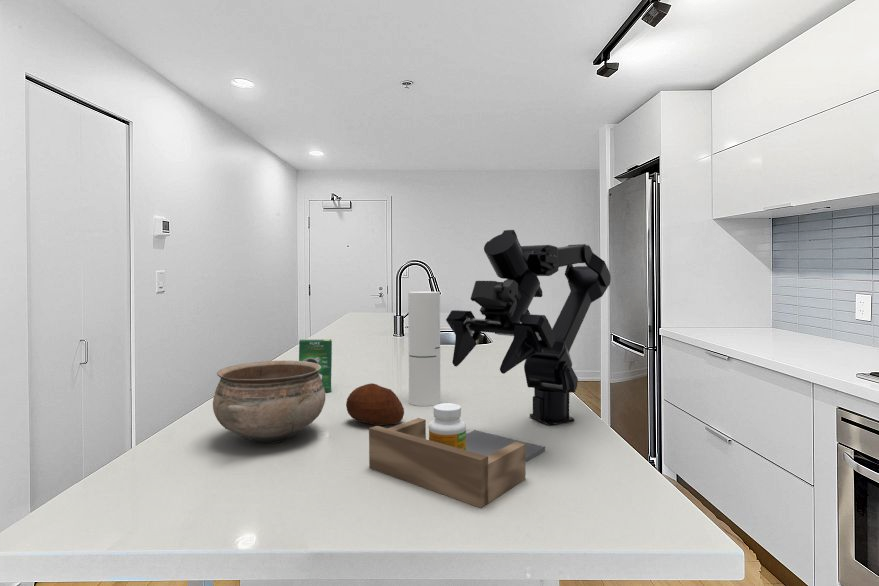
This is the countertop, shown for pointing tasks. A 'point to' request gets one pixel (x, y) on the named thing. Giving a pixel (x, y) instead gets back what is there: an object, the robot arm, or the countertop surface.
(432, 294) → the cylindrical container
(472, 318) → the robot arm
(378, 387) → the potato
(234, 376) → the cooking pot
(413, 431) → the brown walled open frame
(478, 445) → the mat
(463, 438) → the supplement bottle
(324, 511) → the countertop surface
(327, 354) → the coffee box
